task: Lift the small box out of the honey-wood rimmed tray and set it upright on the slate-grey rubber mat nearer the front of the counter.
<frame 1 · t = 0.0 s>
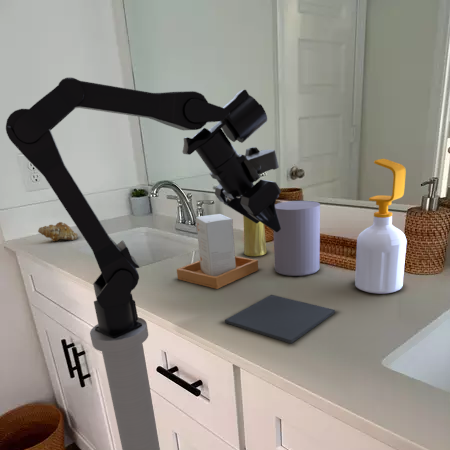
hand: (268, 226, 83), 14 cm above the worktop, tool tilted 35°, fingers open, 9 cm apart
container: (296, 270, 100), on the worktop
tray: (218, 274, 101), on the worktop
small box: (218, 273, 101), resting on tray
seashell: (60, 241, 147), on the worktop
soap bottle: (378, 287, 87), on the worktop
mat: (280, 317, 76), on the worktop
vase: (255, 254, 115), on the worktop
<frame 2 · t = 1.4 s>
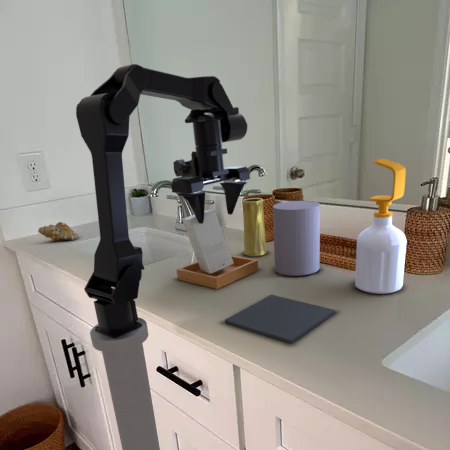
hand: (216, 218, 96), 13 cm above the worktop, tool pointing down, fingers open, 9 cm apart
small box: (217, 268, 100), point 2 cm above the worktop, touching gripper, tray
everything else where it was.
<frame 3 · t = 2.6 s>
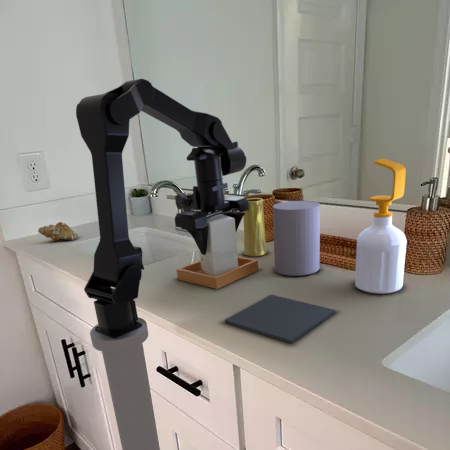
hand: (217, 248, 99), 6 cm above the worktop, tool pointing down, fingers closed on small box, 9 cm apart
small box: (219, 273, 101), resting on tray, touching gripper
everything else where it was.
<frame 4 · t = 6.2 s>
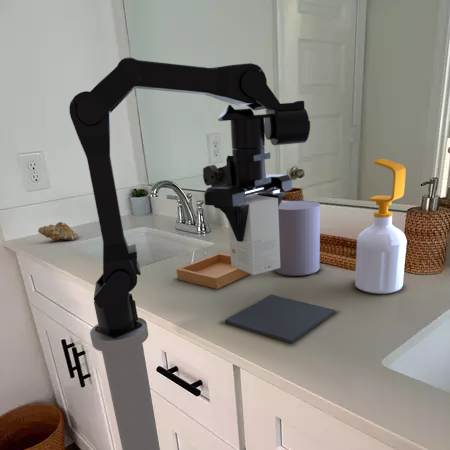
hand: (252, 236, 80), 13 cm above the worktop, tool pointing down, fingers closed on small box, 7 cm apart
small box: (255, 268, 82), point 7 cm above the worktop, touching gripper
everything else where it was.
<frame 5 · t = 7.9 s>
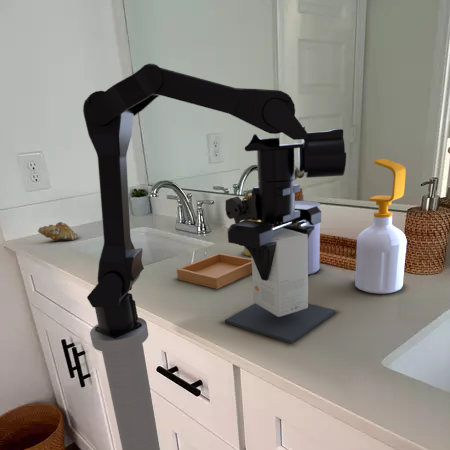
hand: (278, 273, 73), 8 cm above the worktop, tool pointing down, fingers closed on small box, 7 cm apart
small box: (280, 306, 75), point 2 cm above the worktop, touching gripper
everything else where it was.
when the fingers open (6 cm above the worktop, at t = 9.6 s): small box stays where it is, resting on mat.
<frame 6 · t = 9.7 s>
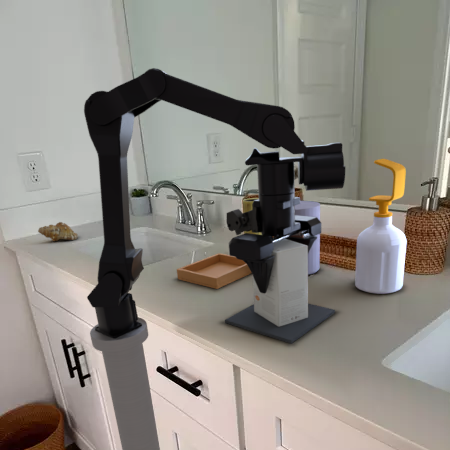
hand: (279, 284, 74), 6 cm above the worktop, tool pointing down, fingers open, 9 cm apart
small box: (280, 316, 76), resting on mat
everything else where it was.
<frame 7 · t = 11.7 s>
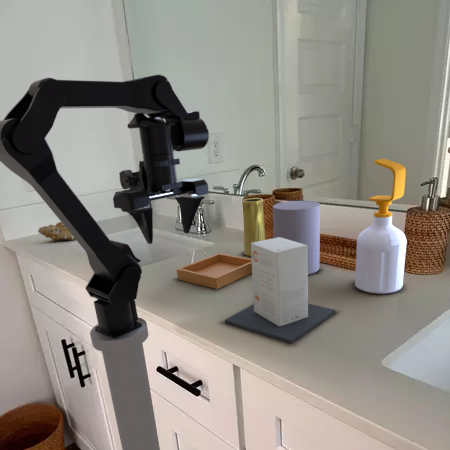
hand: (168, 238, 84), 13 cm above the worktop, tool pointing down, fingers open, 9 cm apart
nothing on the worktop moved.
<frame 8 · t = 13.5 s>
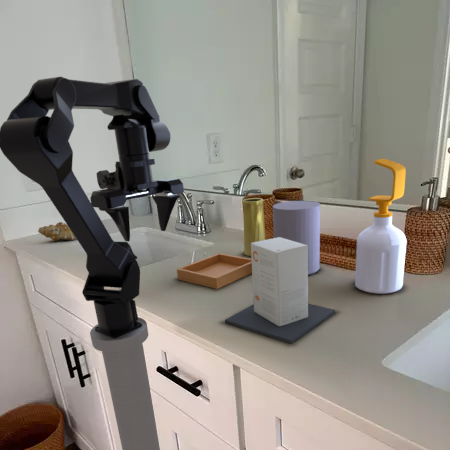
hand: (145, 235, 87), 13 cm above the worktop, tool pointing down, fingers open, 9 cm apart
nothing on the worktop moved.
at the end: small box inside the target area on the mat (0.1 cm from its centre), point 0.4 cm above the mat's base; small box tilted 0°; small box touching mat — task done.
